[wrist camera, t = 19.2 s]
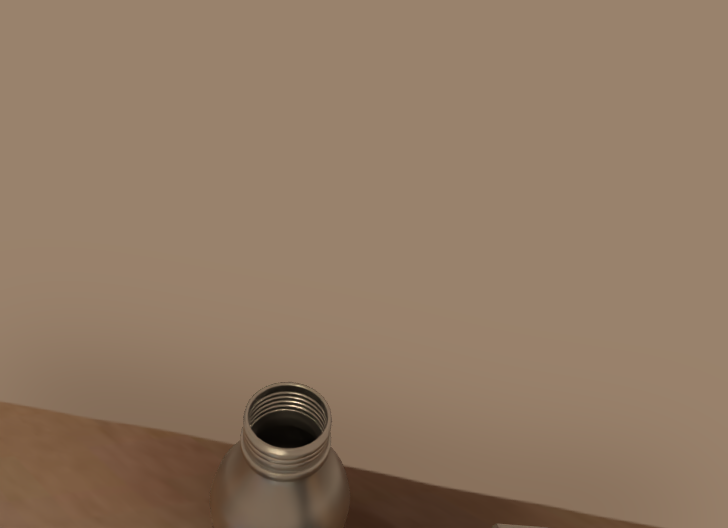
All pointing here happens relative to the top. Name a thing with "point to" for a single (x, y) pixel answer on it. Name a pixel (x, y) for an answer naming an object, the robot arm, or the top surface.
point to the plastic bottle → (282, 465)
